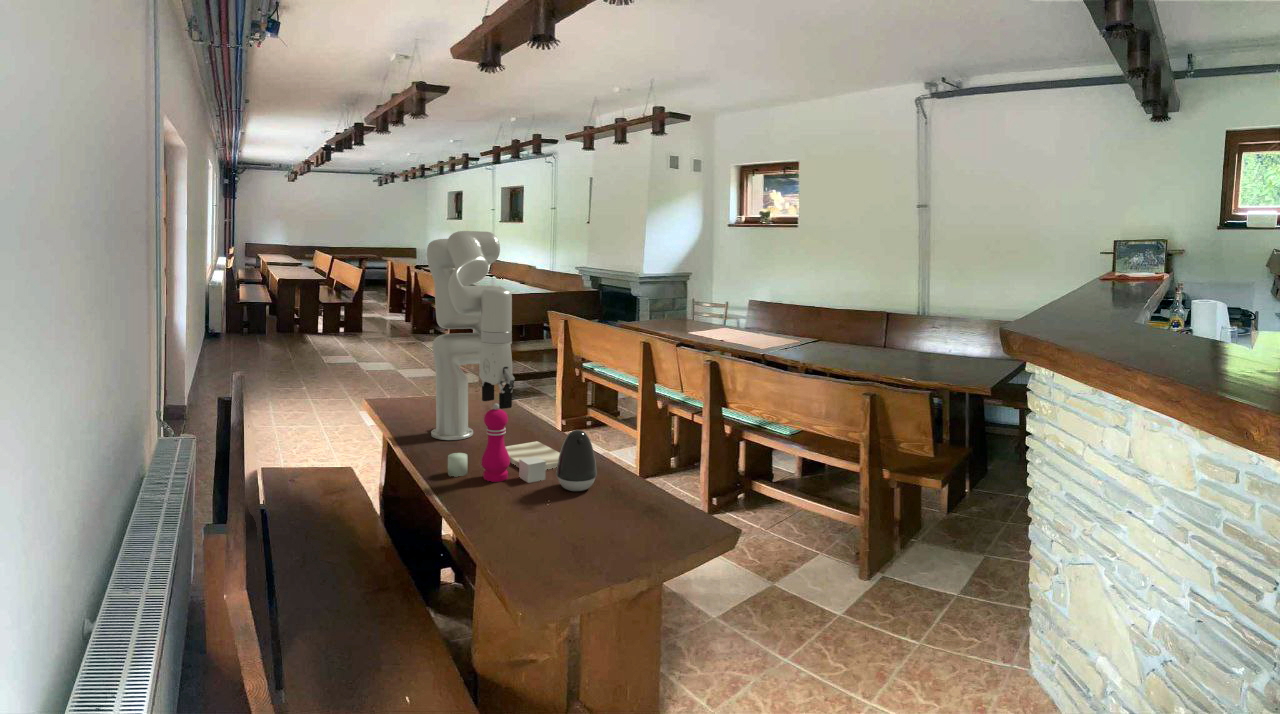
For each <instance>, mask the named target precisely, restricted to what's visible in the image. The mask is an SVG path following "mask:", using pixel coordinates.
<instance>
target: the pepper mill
mask: <svg viewBox="0 0 1280 714" xmlns="http://www.w3.org/2000/svg"><path fill="white" fill-rule="evenodd" d="M483 421H484V424H485V426H486V428H485V430H486V431H485V433H486V434H487V444H486V448H485V450H484V453H483V454H482V457H481V466H482V468H483V469H484V471H483V479H485V480H484V481H486V480H487V481H486V482H489V481H491V482H492V483H499V482H500V483H501V482H504V481H506V480H508V478H509V472H508V470H507V469H508V468H509V466H510V464H511V463H510V458H509V454H508V452H507V450H506V447H505V446H506V445H505V444H506V443H505V434H506V432H507V431H506V430H507V428H506V427H505V426H507V424H508V422H509V417H508V414H507V412H506V411H504V409H500V408H499V403H498V402H497V403H493V405H492V409H489V410H487V412H486V413H485V415H484V417H483ZM491 482H490V483H491Z"/></svg>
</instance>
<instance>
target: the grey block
mask: <svg viewBox="0 0 1280 714" xmlns="http://www.w3.org/2000/svg"><path fill="white" fill-rule="evenodd" d="M518 468H519V470H518V471H519V472H518V478H519V477H520V478H519V479H521V480H523V481H524V482H525V483H528V484H530V483H536V482H540V480H541V481H544V480H546V472H547V470H546V461H544V460H542V459H540V458H538V457H537V456H536V457H530V458H524V459H519V467H518Z"/></svg>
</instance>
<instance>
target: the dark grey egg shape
mask: <svg viewBox="0 0 1280 714" xmlns="http://www.w3.org/2000/svg"><path fill="white" fill-rule="evenodd" d="M560 448H561V449H560V452H559V453H560V455H559V458H558V463H557V468H556V472H555V474H556V477H557V480H558V482H559V484H560V485H561V487H562V488H563V489H565V490H567V491H571V492H583V491H586V490H588V489H589V488H591V486H593V484H594V482H595V480H596V477H597V475H598V473H597V472H598V469H597V462H596V456H595V451H594V447H593V445H592V441H591V439H590V438H589V436H588V434H587V433H586V432H585V431H583V430H581V429H574V430H571V431H570V432H569V433H568V434H567V435H566V437H565V438H564V441H563V443H562V446H561V447H560Z"/></svg>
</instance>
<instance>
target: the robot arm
mask: <svg viewBox="0 0 1280 714" xmlns="http://www.w3.org/2000/svg"><path fill="white" fill-rule="evenodd" d="M500 252H501V245H500V242H499V238H498V237H497V235H495V233H493V232H491V231H482V230H481V231H479V230H478V231H477V230H475V231H474V230H459V231H456V232H453V233H451V234H450V235H449V236H448V238H438V239H433V240H432V241H429V243H428V244H427V247H426V260H427V264H428V268H429V272H430V274H431V276H432V277H431V278H432V279H433V284H434V285H433V286H434V301H435V303H434V304H435V306H434V307H435V318H436V323H437V325H438V326H439V327H440V328H442V329H446V330H457V329H458V330H464V329H465V330H467V329H471V330H473V332H466V333H465V332H459V333H454V332H453V333H444V334H443V333H442V334H440V335H438V336H436V337H435V338H434V339H433V342H432V344H431V346H432V348H431V349H432V354H433V355H432V356H433V361H434V368H435V406H436V407H435V413H436V415H435V417H436V419H435V420H436V421H435V423H436V426H435V427H436V428H433V429H432V430H431V431H430V433H431V434H430V435H431V437H432V438H433V439H436V440H442V441H458V440H464V439H469V438H470V437H472V436H473V435H474V430H473V429H472V428H471V427H469V380H468V379H469V378H468V377H467V375H466V373H465V372H464V371H463V370H462V369H461V368H460V366H463V365H475V364H479V365H478V367H479V369H478V370H479V371H478V377H479V378H480V380H481V383H480V385H481V401H482V402H489V401H490V402H491V401H494V400H495V386H496V385H498V388H499V390H500V392H499V393H498V398H499V399H498V404H499V409H501V410H504V409H511V408H512V407H513V406H512V403H513V402H512V401H513V400H512V398H513V394H512V393H513V391H514V390H513V389H514V383H515V380H516V378H515V376H514V375H513V357H512V355H513V354H512V347H511V345H512V344H513V337H512V336H513V333H512V331H513V330H512V329H513V328H512V327H513V325H512V324H513V321H512V320H513V314H512V313H513V298H512V297H513V295H512V294H513V293H512V292H511V291H510V290H509V289H506V288H505V287H503V286H501V285H473V284H476V283H478V282H480V281H482V280H483V279H484V278H485V277H486V276H487V274H488V272H489V268H490V267H489V266H490V265H492V264H494V263H495V262H496V261H497V260H498V259H499V256H500Z"/></svg>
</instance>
